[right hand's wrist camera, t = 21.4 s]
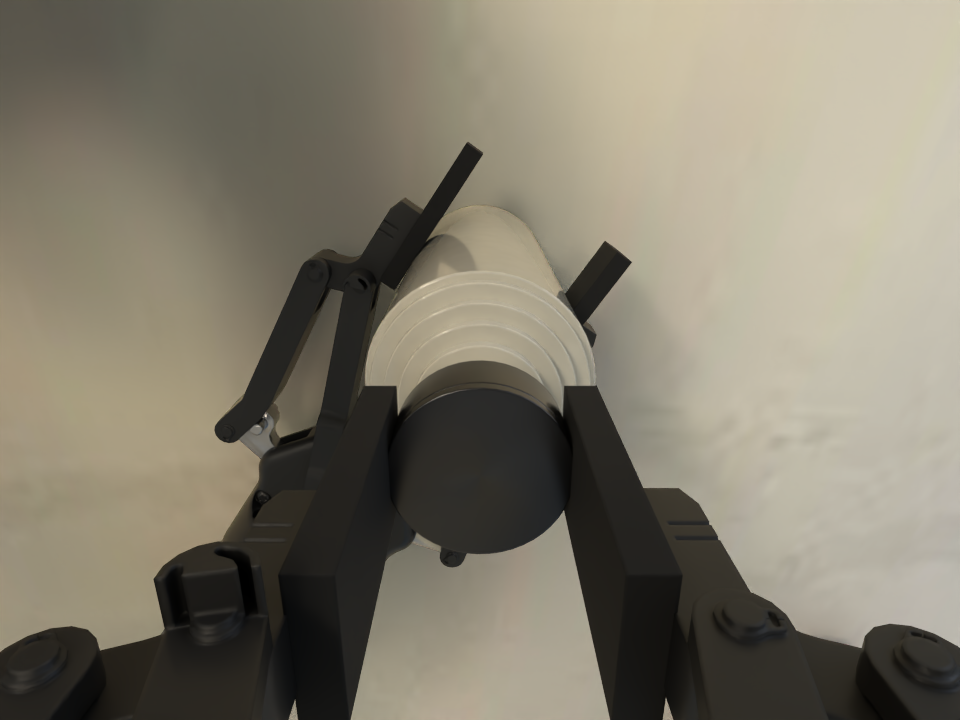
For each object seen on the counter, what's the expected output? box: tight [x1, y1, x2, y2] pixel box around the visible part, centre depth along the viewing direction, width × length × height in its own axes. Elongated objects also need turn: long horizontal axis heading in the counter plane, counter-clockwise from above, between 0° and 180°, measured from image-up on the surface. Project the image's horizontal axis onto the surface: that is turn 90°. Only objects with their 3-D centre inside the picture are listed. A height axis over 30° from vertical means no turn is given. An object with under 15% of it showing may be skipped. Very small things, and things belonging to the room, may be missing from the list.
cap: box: [388, 360, 573, 554], centre depth 14 cm, size 4×4×2 cm
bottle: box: [365, 205, 596, 417], centre depth 23 cm, size 7×7×20 cm
